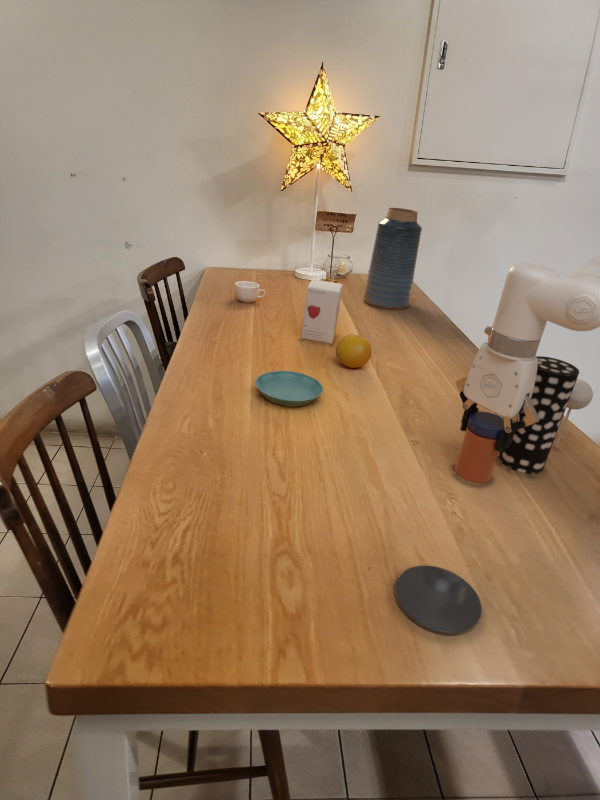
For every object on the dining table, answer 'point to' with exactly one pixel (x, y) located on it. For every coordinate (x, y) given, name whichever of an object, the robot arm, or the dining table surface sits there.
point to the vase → (393, 260)
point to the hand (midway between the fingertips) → (483, 438)
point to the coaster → (438, 600)
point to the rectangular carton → (321, 311)
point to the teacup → (247, 291)
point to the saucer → (289, 388)
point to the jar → (476, 457)
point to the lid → (485, 424)
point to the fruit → (353, 351)
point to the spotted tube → (541, 416)
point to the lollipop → (577, 400)
